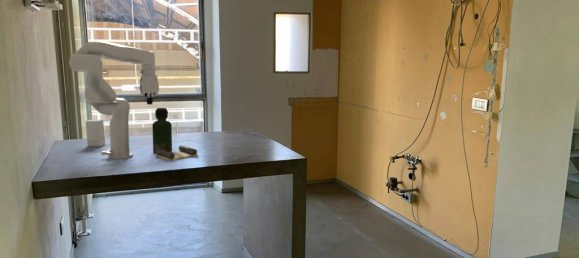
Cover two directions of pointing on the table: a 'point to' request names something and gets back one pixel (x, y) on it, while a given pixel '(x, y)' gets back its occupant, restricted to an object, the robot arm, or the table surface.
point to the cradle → (176, 153)
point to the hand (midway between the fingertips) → (149, 104)
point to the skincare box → (95, 133)
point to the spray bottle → (162, 131)
